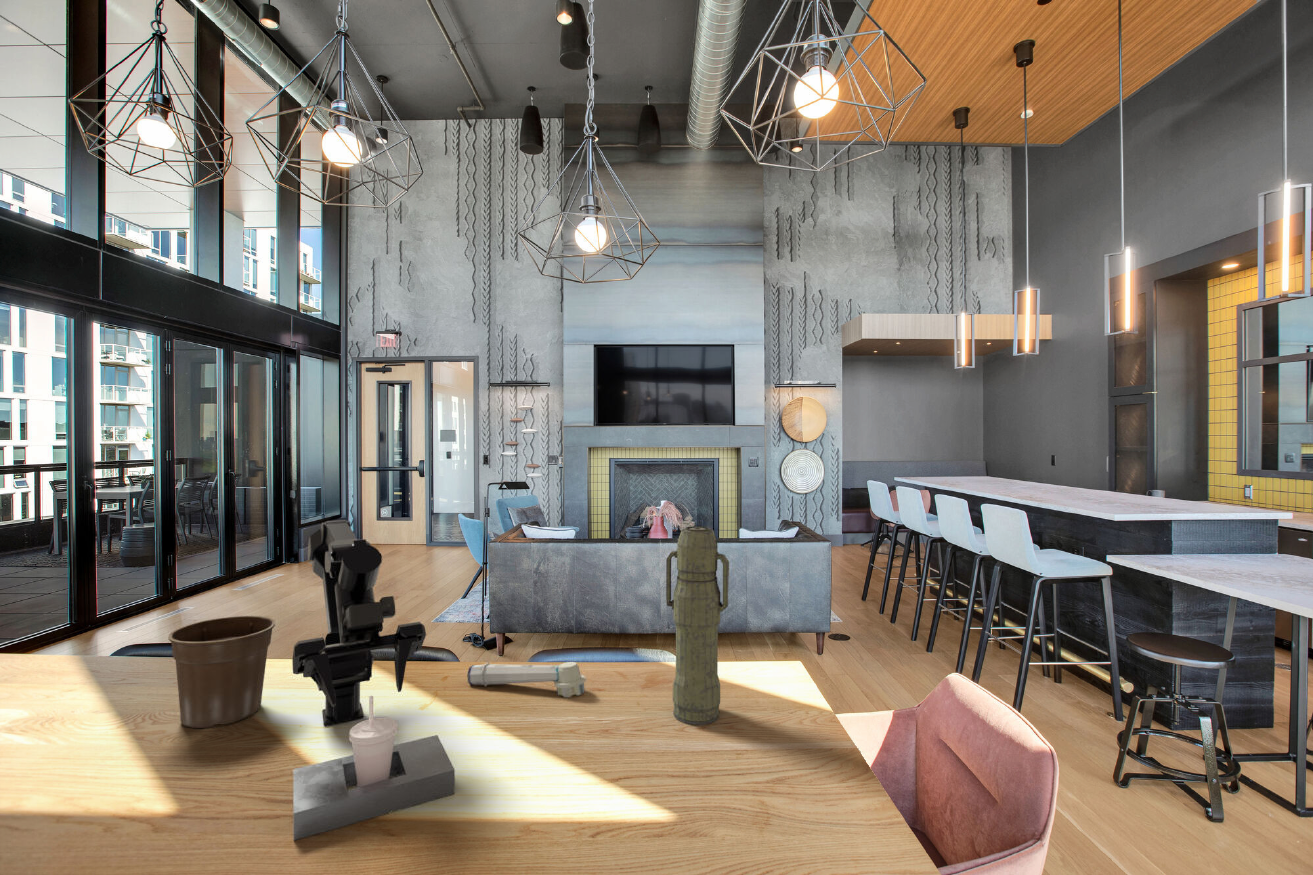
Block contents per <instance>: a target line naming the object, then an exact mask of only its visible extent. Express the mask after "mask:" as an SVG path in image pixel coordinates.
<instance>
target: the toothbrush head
mask: <svg viewBox="0 0 1313 875" xmlns="http://www.w3.org/2000/svg"><path fill="white" fill-rule="evenodd" d="M466 676H467V683H468V684H469V685H471V686H472V685H473V686H484V687H487V685H488V686H489V685H506V684H523V683H525V684H526V683H528V684H529V683H546V682H549V683H550V682H553V684H554V687H555V688H556V692H557V695H558V696H563V698H571V697H572V696H574V695H576V696H579V695H582V694H584V692H585V691H586V690H585V682H587V681H586V676H584V675H583V674H581V671H580V666H579V665H578V663H577V662H574V661H567V662H563V663H561V664H559V665H557V664H556V665H555V664H553V665H551V664H549V665H548V664H500V663H499V664H495V663H492V664H491V663H490V662H486V663H485V664H472V665H471V666H470V667H468V671H467V673H466Z"/></svg>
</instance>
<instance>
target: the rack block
mask: <svg viewBox="0 0 1313 875" xmlns="http://www.w3.org/2000/svg"><path fill="white" fill-rule="evenodd" d="M292 773H293V774H292V775H293V776H292V777H293V778H292V786H293V787H292V798H293V799H292V804H293V805H292V811H293V813H292V814H293V815H292V816H293V818H292V820H293V822H292V823H293V827H292V829H293V834H292V836H293V837H292V839H293V841H297V840H301V839H304V838H307V837H310V836H314V835H318V834H322V833H324V832H327V831H328V832H329V831H332V830H335V829H339V828H342V827H345V826H348V825H352V824H357V823H359V822H362V821H366V820H369V819H372V818H377V817H380V816H382V815H383V814H384V815H387V814H390V813H389V812H391V811H394V812H397V811H400V810H399V809H401V810H403V809H407V807H408V808H411V807H414V806H417V805H421V804H424V803H428V802H430V801H431V802H432V801H435V800H438V799H442V798H445V797H450V796H452V795H455V777H456V776H455V773H456V770H455V767H454V765H453V764H452V761H451V759H450V757H449V756H448V754H447V751H446V750H445V748H444V745H443V744H442V742H441V740H440V737H439V735H438V734H435V735H432V736H428V737H424V738H423V737H422V738H419V739H415V740H411V741H407V742H402V743H401V742H400V743H397V744H394V745H393V752H392V760H391V767H390V774H389V777H391V776H395V775H397V776H395V777H392V778H389V779H388V780H384V781H380V782H376V783H373V784H369V785H365V786H361V787H358V785H357V777H356V769H355V762H354V754H351V755H347V756H343V757H340V758H339V757H338V758H336V759H329V760H326V761H322V762H318V763H315V764H309V765H306V766H301V767H296V768H293V769H292ZM356 785H357V787H354V788H351V789H347V788H349V787H353V786H356ZM396 810H397V811H396ZM386 813H387V814H386ZM391 813H392V812H391ZM384 815H383V816H384Z"/></svg>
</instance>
